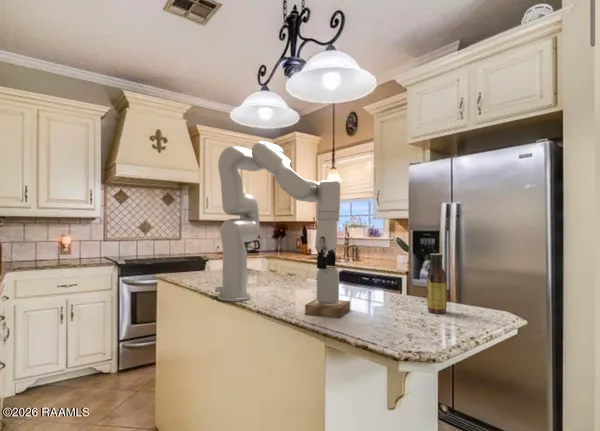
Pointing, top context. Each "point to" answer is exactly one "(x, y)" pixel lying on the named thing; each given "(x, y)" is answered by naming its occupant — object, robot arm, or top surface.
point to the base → (327, 308)
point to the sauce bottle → (436, 286)
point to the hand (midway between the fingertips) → (326, 267)
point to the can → (328, 285)
